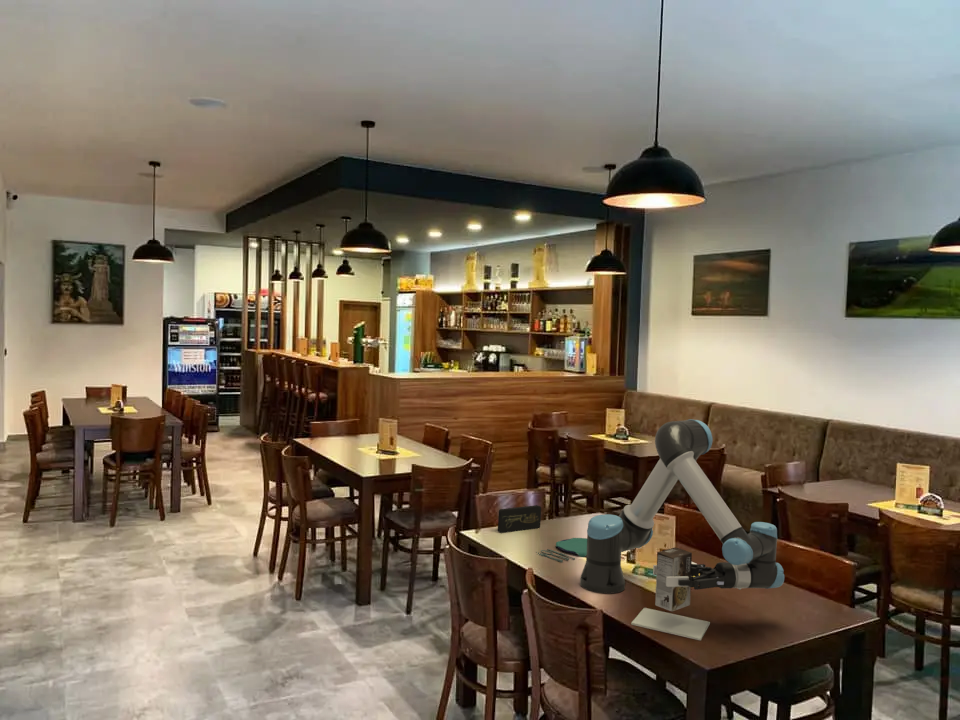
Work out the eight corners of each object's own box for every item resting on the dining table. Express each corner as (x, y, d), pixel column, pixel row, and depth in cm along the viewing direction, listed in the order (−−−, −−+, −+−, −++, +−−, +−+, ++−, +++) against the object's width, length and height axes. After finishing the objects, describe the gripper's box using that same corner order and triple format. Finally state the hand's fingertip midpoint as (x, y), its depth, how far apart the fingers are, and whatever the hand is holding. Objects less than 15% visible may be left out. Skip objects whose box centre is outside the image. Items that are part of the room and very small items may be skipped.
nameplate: (500, 533, 306) (501, 510, 306) (497, 532, 308) (498, 509, 307) (540, 528, 317) (541, 505, 316) (537, 527, 318) (538, 505, 318)
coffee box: (672, 599, 221) (675, 546, 220) (690, 605, 216) (693, 552, 215) (654, 605, 215) (656, 551, 214) (672, 612, 210) (674, 557, 209)
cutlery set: (617, 552, 287) (617, 546, 287) (564, 566, 268) (564, 560, 268) (580, 540, 302) (580, 534, 302) (527, 552, 283) (527, 547, 283)
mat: (631, 624, 214) (631, 622, 214) (644, 609, 226) (644, 607, 226) (700, 640, 205) (700, 638, 205) (709, 623, 217) (709, 622, 217)
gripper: (748, 601, 206) (674, 601, 203) (714, 575, 228) (646, 575, 226) (750, 575, 206) (675, 575, 203) (715, 551, 228) (647, 551, 225)
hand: (660, 575), depth 214 cm, fingers closed on coffee box, 10 cm apart
